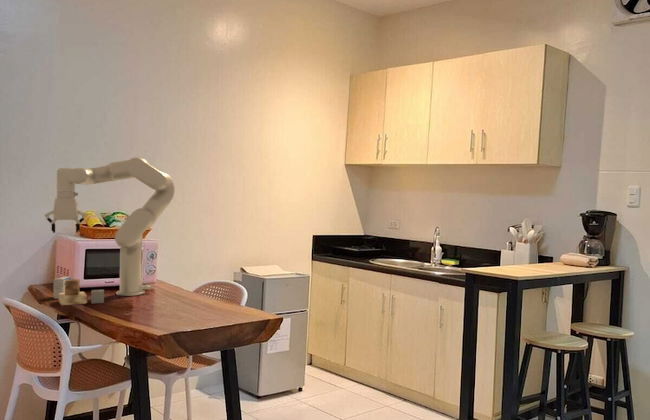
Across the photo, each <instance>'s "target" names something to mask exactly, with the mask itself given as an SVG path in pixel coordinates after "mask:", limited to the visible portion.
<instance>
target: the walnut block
mask: <svg viewBox="0 0 650 420" xmlns="http://www.w3.org/2000/svg"><path fill="white" fill-rule="evenodd" d="M80 282H81V279H80V278H71V279H67V280H66V281H65V295H78V294H79V293H80V292H81V291H80V290H81V289H80V288H81V287H80V286H81V283H80Z"/></svg>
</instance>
